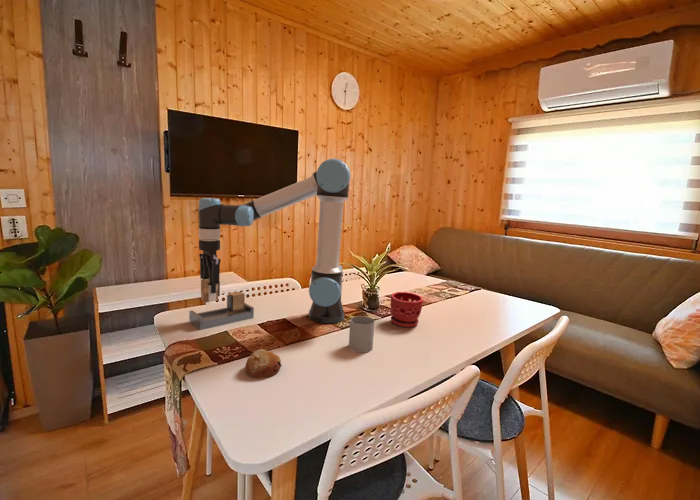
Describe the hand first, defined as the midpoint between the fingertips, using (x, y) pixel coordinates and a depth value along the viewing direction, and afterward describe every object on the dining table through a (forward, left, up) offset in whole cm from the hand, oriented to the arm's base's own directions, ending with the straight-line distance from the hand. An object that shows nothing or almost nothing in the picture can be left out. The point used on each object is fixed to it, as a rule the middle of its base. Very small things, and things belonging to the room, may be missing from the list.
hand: (209, 299), depth 140 cm
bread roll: (-45, +3, -10) cm, 47 cm away
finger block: (0, 0, 0) cm, 0 cm away
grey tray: (0, -5, -10) cm, 11 cm away
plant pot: (-47, -63, -10) cm, 79 cm away
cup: (-52, -31, -10) cm, 62 cm away
